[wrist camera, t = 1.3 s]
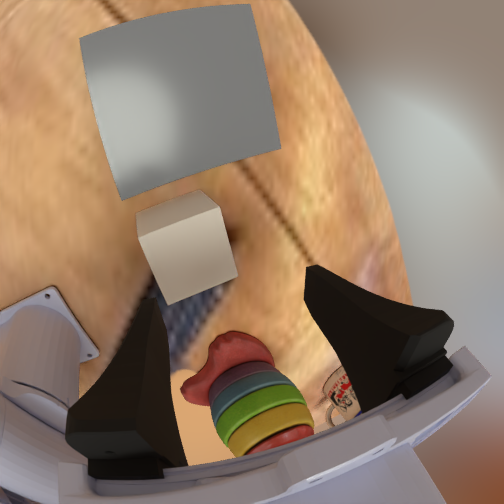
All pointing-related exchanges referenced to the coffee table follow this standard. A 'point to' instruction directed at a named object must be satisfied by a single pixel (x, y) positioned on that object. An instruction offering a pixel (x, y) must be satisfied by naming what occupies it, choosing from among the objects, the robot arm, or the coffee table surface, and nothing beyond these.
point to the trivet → (179, 94)
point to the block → (186, 245)
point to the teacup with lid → (341, 397)
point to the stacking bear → (248, 396)
